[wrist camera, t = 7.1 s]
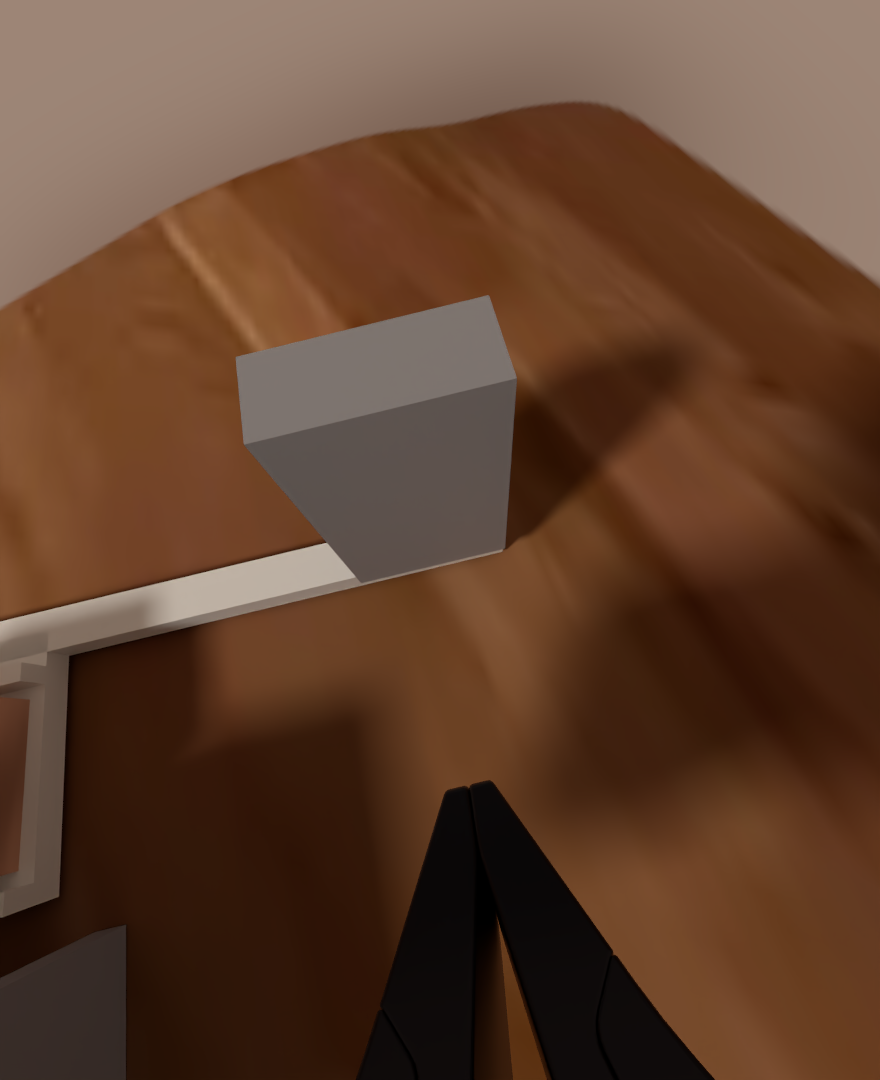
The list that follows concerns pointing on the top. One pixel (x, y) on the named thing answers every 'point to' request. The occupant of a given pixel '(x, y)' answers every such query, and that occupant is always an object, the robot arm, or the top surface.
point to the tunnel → (67, 1013)
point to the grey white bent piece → (322, 497)
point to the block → (12, 778)
